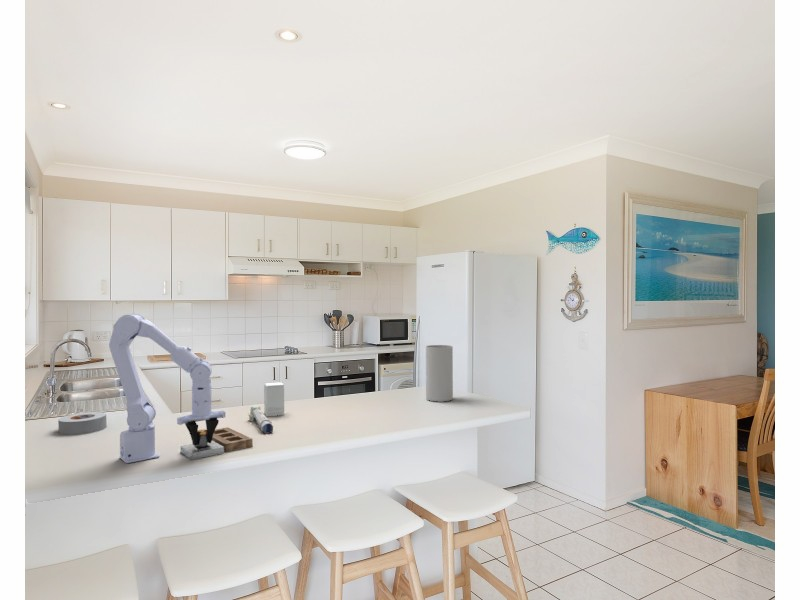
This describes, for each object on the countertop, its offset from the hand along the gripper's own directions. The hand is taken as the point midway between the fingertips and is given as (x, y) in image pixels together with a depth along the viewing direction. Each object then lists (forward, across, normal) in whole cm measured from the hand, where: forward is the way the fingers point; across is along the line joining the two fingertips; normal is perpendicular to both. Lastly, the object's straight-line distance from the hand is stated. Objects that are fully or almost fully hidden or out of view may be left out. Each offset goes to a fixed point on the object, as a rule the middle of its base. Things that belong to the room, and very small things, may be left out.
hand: (202, 443), depth 167 cm
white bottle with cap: (+3, +30, +20) cm, 36 cm away
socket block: (+3, 0, 0) cm, 3 cm away
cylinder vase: (+3, +114, +9) cm, 115 cm away
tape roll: (+3, -22, +59) cm, 63 cm away
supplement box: (+3, +42, +34) cm, 55 cm away
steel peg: (+3, 0, 0) cm, 3 cm away
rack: (+3, +10, +6) cm, 12 cm away
